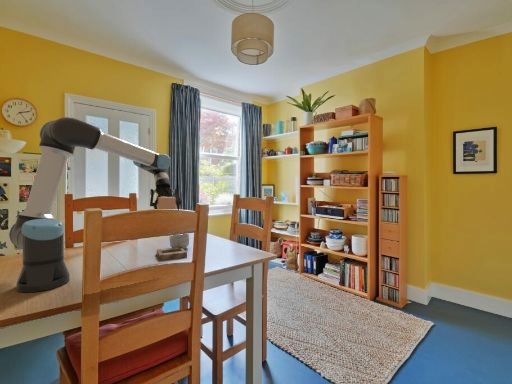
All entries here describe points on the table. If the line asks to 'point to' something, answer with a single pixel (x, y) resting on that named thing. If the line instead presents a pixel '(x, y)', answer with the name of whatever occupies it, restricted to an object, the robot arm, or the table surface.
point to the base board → (171, 253)
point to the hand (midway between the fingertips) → (167, 215)
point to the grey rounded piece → (179, 241)
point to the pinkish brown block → (167, 202)
